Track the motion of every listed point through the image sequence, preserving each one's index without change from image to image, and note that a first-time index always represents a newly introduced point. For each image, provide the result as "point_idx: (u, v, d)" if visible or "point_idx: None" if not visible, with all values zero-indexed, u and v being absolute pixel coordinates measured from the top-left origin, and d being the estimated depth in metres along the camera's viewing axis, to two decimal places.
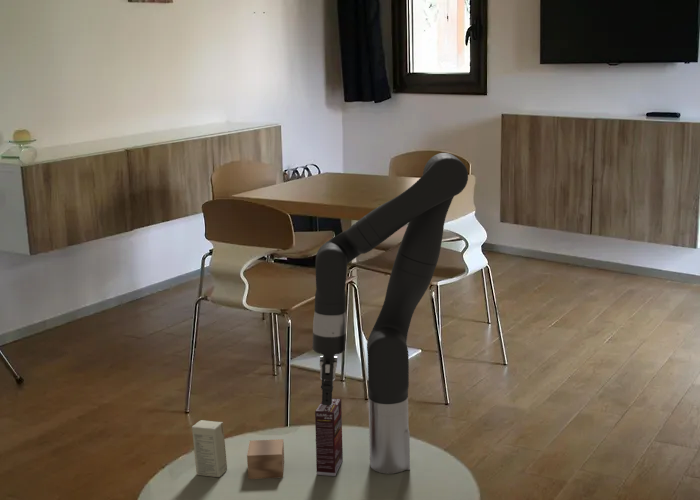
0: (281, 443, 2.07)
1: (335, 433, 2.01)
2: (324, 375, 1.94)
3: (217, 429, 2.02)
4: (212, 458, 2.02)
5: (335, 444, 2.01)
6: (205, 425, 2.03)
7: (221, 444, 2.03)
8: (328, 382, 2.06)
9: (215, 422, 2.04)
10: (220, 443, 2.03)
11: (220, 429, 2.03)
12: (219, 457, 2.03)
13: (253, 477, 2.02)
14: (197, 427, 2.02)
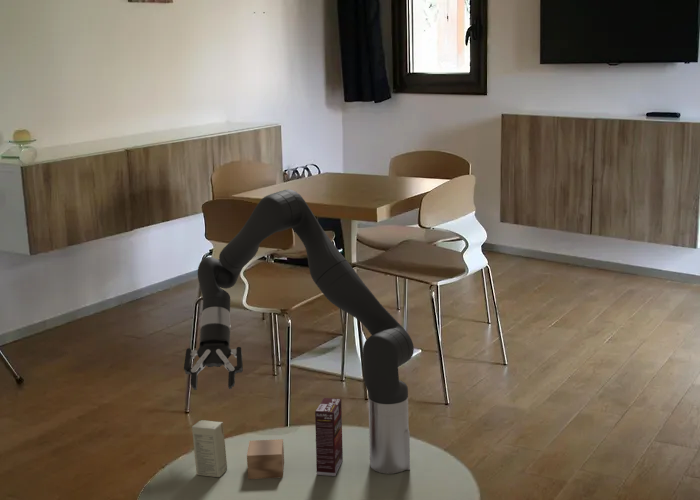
0: (281, 443, 2.07)
1: (335, 433, 2.01)
2: None
3: (217, 429, 2.02)
4: (212, 458, 2.02)
5: (335, 444, 2.01)
6: (205, 425, 2.03)
7: (221, 443, 2.03)
8: None
9: (215, 422, 2.04)
10: (220, 443, 2.03)
11: (220, 429, 2.03)
12: (219, 457, 2.03)
13: (253, 477, 2.02)
14: (197, 427, 2.02)
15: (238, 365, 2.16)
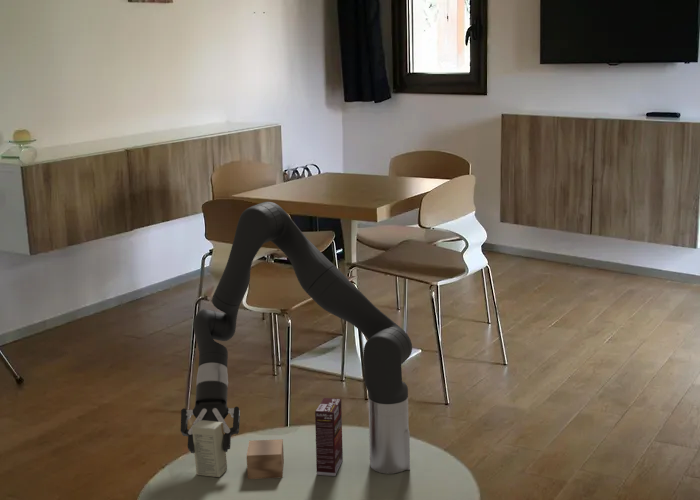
0: (281, 443, 2.07)
1: (335, 433, 2.01)
2: None
3: (217, 429, 2.02)
4: (212, 457, 2.02)
5: (335, 444, 2.01)
6: (205, 425, 2.03)
7: (221, 443, 2.03)
8: None
9: (215, 422, 2.04)
10: (220, 443, 2.03)
11: (220, 429, 2.03)
12: (219, 457, 2.03)
13: (252, 477, 2.02)
14: (197, 427, 2.02)
15: (234, 426, 2.05)
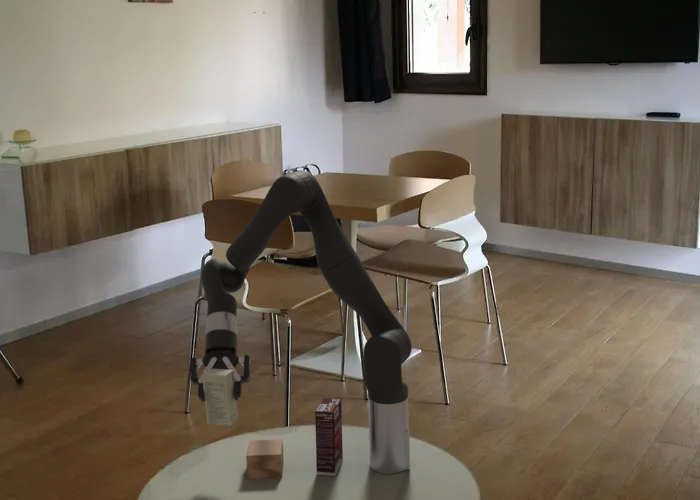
0: (280, 443, 2.07)
1: (335, 433, 2.01)
2: None
3: (228, 376, 1.99)
4: (222, 405, 1.99)
5: (335, 444, 2.01)
6: (215, 372, 2.00)
7: (231, 391, 2.00)
8: None
9: (225, 370, 2.01)
10: (230, 391, 2.00)
11: (230, 376, 2.00)
12: (230, 405, 2.00)
13: (252, 477, 2.02)
14: (208, 375, 1.99)
15: (245, 374, 2.02)
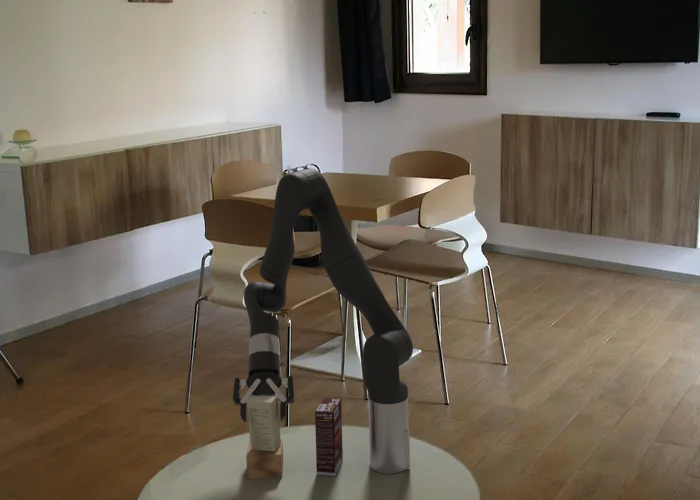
0: None
1: (335, 433, 2.01)
2: None
3: (272, 403, 2.01)
4: (267, 432, 2.02)
5: (335, 444, 2.01)
6: (260, 399, 2.02)
7: (275, 418, 2.03)
8: None
9: (269, 396, 2.04)
10: (275, 417, 2.02)
11: (275, 403, 2.02)
12: (275, 431, 2.02)
13: (252, 478, 2.02)
14: (252, 402, 2.01)
15: (290, 395, 2.04)
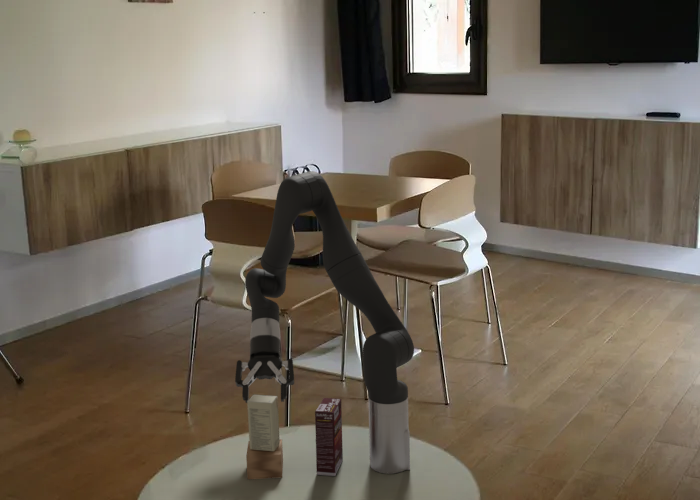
0: (280, 443, 2.07)
1: (335, 433, 2.01)
2: None
3: (273, 403, 2.01)
4: (267, 432, 2.02)
5: (335, 444, 2.01)
6: (261, 399, 2.02)
7: (276, 418, 2.03)
8: None
9: (270, 396, 2.03)
10: (275, 417, 2.02)
11: (275, 403, 2.02)
12: (274, 431, 2.02)
13: (252, 478, 2.02)
14: (253, 402, 2.01)
15: (290, 377, 2.12)
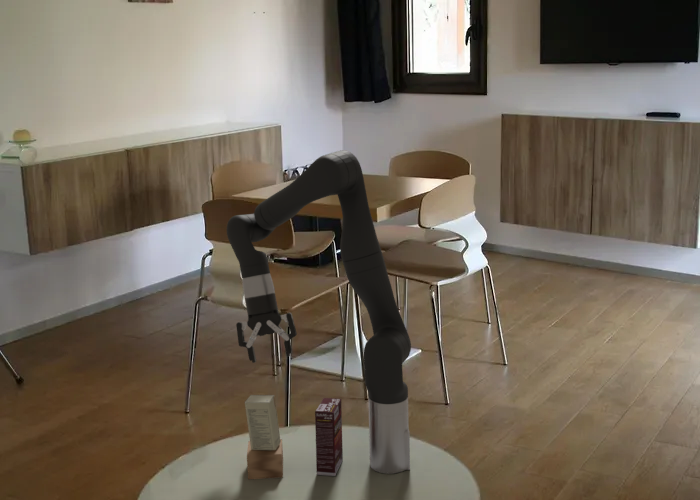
0: (280, 443, 2.07)
1: (335, 433, 2.01)
2: None
3: (271, 402, 2.01)
4: (267, 431, 2.02)
5: (335, 444, 2.01)
6: (258, 399, 2.02)
7: (274, 416, 2.03)
8: None
9: (267, 396, 2.03)
10: (274, 416, 2.02)
11: (273, 402, 2.02)
12: (274, 430, 2.02)
13: (253, 478, 2.02)
14: (251, 402, 2.01)
15: (292, 333, 2.13)
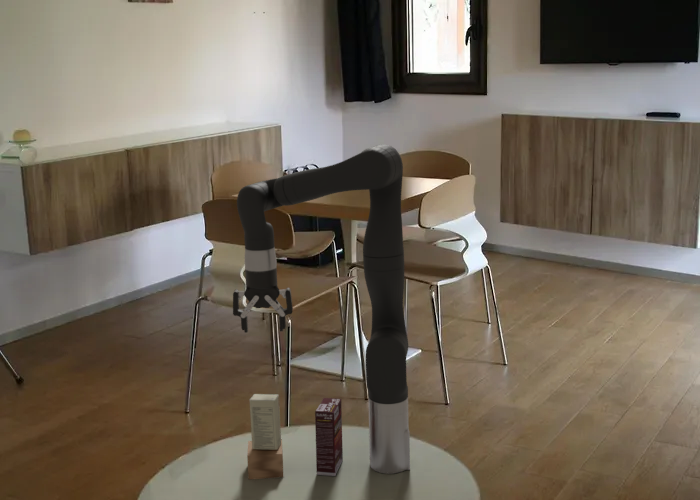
0: None
1: (335, 433, 2.01)
2: None
3: (276, 400, 2.02)
4: (270, 430, 2.02)
5: (335, 444, 2.01)
6: (263, 397, 2.02)
7: (278, 416, 2.03)
8: None
9: (271, 395, 2.04)
10: (277, 415, 2.03)
11: (277, 401, 2.03)
12: (277, 429, 2.03)
13: (253, 478, 2.02)
14: (256, 400, 2.01)
15: (288, 310, 2.10)
